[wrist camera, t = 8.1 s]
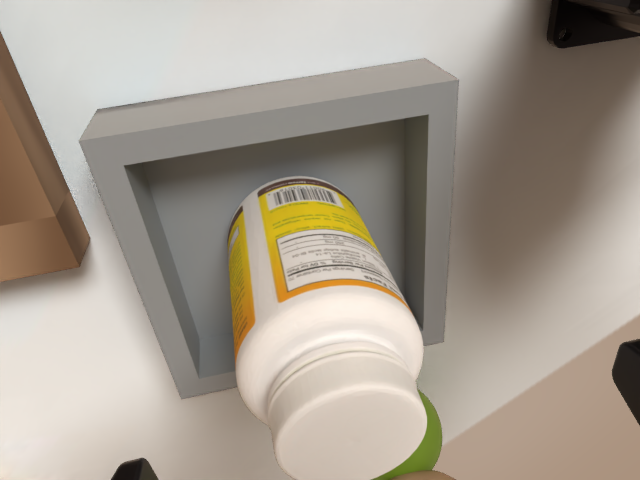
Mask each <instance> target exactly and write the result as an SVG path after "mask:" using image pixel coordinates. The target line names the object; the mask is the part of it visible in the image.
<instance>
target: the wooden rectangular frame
mask: <svg viewBox="0 0 640 480" xmlns="http://www.w3.org/2000/svg"><path fill="white" fill-rule="evenodd" d="M89 240H90V237H89V234H88V232H87V230H86V228H85V225H84V223H83V221H82V218H81V216H80V214H79V211H78V209H77V207H76V205H75V202H74V200H73V198H72V195H71V193H70V191H69V188H68V186H67V184H66V182H65V179H64V177H63V175H62V172H61V170H60V168H59V165H58V163H57V161H56V159H55V156H54V154H53V152H52V149H51V147H50V145H49V142H48V140H47V138H46V136H45V133H44V131H43V129H42V126H41V124H40V122H39V119H38V117H37V115H36V113H35V110H34V108H33V106H32V103H31V101H30V99H29V96H28V94H27V92H26V90H25V87H24V85H23V83H22V80H21V78H20V76H19V73H18V71H17V69H16V67H15V64H14V62H13V60H12V57H11V55H10V53H9V50H8V48H7V46H6V44H5V41H4V39H3V37H2V34H1V32H0V282H2V281H7V280H13V279H18V278H23V277H29V276H34V275H40V274H45V273H50V272H56V271H61V270H66V269H72V268H77V267H80V264H81V261H82V259H83V256H84V253H85V251H86V248H87V245H88V243H89Z"/></svg>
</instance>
